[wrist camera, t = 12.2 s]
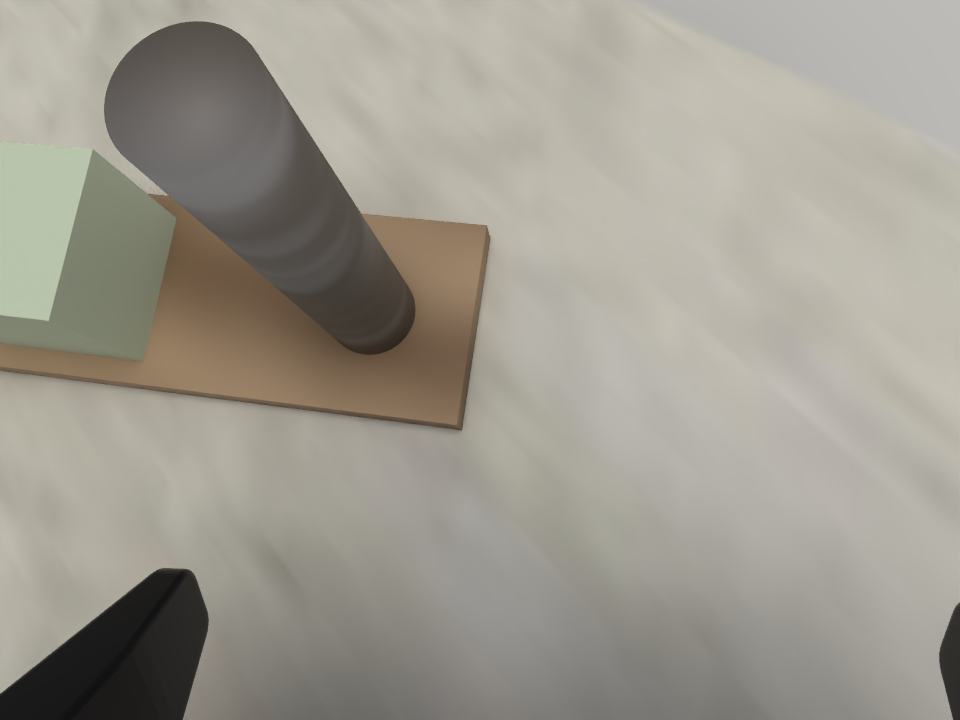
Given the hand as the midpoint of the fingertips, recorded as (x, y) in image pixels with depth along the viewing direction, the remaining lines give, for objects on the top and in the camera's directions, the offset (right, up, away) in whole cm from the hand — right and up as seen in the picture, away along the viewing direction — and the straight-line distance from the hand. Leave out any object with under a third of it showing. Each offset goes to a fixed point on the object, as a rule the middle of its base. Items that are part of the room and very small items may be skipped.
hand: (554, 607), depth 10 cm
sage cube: (-13, +5, +16) cm, 21 cm away
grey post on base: (-9, +5, +16) cm, 19 cm away
